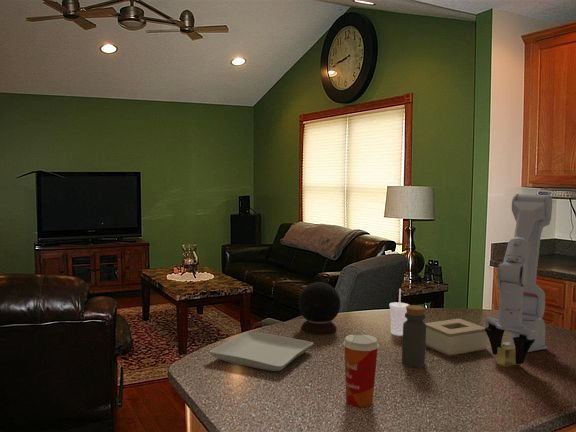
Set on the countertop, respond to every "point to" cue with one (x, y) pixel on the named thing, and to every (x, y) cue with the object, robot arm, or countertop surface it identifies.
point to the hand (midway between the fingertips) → (507, 358)
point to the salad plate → (261, 350)
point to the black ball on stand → (319, 308)
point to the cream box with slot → (455, 336)
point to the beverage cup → (397, 316)
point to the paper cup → (360, 369)
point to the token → (506, 355)
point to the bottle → (414, 337)
